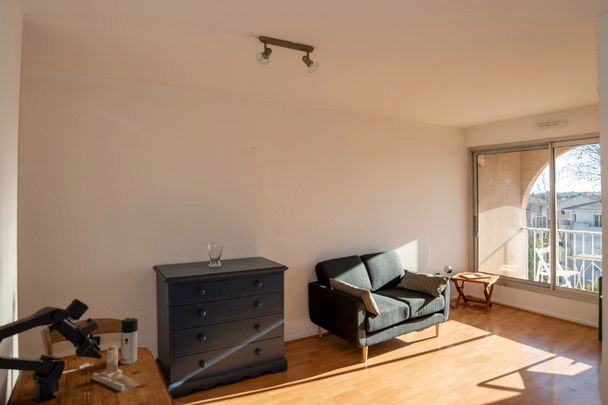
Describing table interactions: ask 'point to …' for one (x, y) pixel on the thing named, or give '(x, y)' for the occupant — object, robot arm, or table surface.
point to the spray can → (129, 340)
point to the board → (117, 382)
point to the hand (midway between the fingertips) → (100, 354)
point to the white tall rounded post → (112, 364)
